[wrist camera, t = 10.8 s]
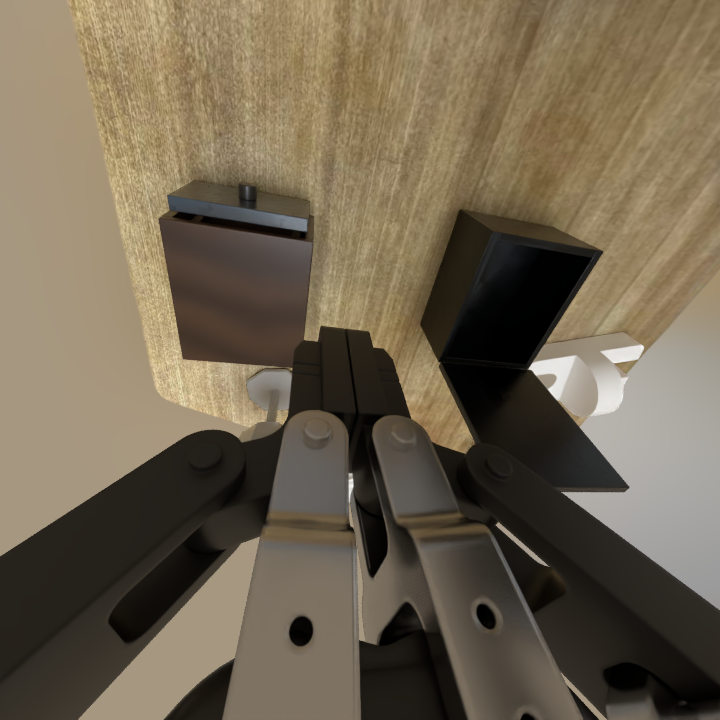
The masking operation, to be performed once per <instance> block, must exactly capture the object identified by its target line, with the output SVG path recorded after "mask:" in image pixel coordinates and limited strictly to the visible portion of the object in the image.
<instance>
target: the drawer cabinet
mask: <svg viewBox="0 0 720 720" xmlns="http://www.w3.org/2000/svg"><path fill="white" fill-rule="evenodd" d="M195 216H196V215H195V214H189V213H183V212H177V211H171V210H170V211H168V212H167V213H165V214H164V215H162V216H161V217H160V218H159V224H160V230H161V235H162V241H163V247H164V253H165V258H166V264H167V270H168V276H169V281H170V287H171V293H172V299H173V304H174V310H175V316H176V322H177V328H178V333H179V339H180V345H181V351H182V356H183V359H186V360H199V361H212V362H225V363H237V364H250V365H263V366H276V367H289V368H293V359H294V350H295V348H296V347H297V346H298V345H299V344H300V342H301V341H302V340H304V332H305V322H306V312H307V302H308V292H309V282H310V272H311V262H312V253H313V242H314V241H313V240H314V216H309V221H308V232H301V236H300V238H299V237H293V236H287V235H280V234H274V233H268V232H261V231H255V230H249V229H242V228H236V227H230V226H223V225H217V224H211V223H204V222H198V221H192V220H191V219H192V218H194V217H195Z"/></svg>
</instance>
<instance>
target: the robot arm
mask: <svg viewBox="0 0 720 720" xmlns="http://www.w3.org/2000/svg"><path fill="white" fill-rule="evenodd" d="M349 473H352V475H353V485H354V486H353V489H352V492H351V495H350V505H351V512H352V518H353V524H354V529H353V527H351V526H350V522H349ZM498 522H500V524H502V525H503V526H504V527H505V528H506V529H507V530H508V531H510V532H511V533H512V534H513V535H514V536H515V537H516V538H518V539H519V540H520V541H521V542H522V543H523V544H524V545H526V546H527V547H528V548H529V549H530V550H531V551H532V552H534V553H535V554H536V555H537V556H538V557H539V558H540V559H542V560H543V561H544V562H545V563H546V564H547V565H548V566H550V567H548V566H544V565H542V564H539V563H538V562H537V561H535V560H534V559H533V558H532V557H530V556H529V555H528V554H527V553H526V552H525V551H524V550H522V549H521V548H520V547H519V546H518V545H517V544H516V543H515V542H514V541H512V540H511V539H510V538H509V537H508V536H507V535H506V534H504V533H503V532H502V531H501V530H500V529H499V528H498V527H497V526H496V524H497V523H498ZM354 530H355V531H354ZM257 537H260V540H259V545H258V549H257V554H256V559H255V564H254V568H253V573H252V578H251V583H250V588H249V593H248V597H247V602H246V607H245V612H244V617H243V622H242V626H241V631H240V636H239V641H238V646H237V651H236V656H235V658H234V659H232V660H231V661H229V662H227V663H226V664H224V665H222V666H221V667H219V668H218V669H217V670H215V671H214V672H212V673H211V674H210V675H209V676H207V677H206V678H205V679H203V680H202V681H201V682H200V683H199V684H197V685H196V686H195V687H194V688H193V689H192V690H191V691H190V692H189V693H188V694H187V695H186V696H185V697H184V698H183V699H182V700H181V701H180V702H179V703H178V704H177V705H176V707H175V708H174V709H173V710H172V711H171V712H170V713H169V714H168V715H167V717H166V718H165V719H164V720H599V719H598V718H597V717H596V716H595V715H594V714H593V713H592V712H591V711H590V709H589V708H588V707H587V706H586V705H585V704H584V703H583V702H582V701H581V700H580V699H579V697H578V696H577V695H576V694H575V693H574V692H573V691H572V690H571V689H570V688H569V687H568V686H567V684H566V683H565V681H564V679H563V677H562V675H561V673H562V674H563V675H564V676H565V677H566V678H567V679H568V680H569V681H570V682H571V683H572V684H573V685H574V686H575V687H576V688H577V689H578V690H579V691H580V692H581V693H582V694H583V695H584V696H585V697H586V698H587V699H588V700H589V701H590V702H591V703H592V704H593V705H594V706H595V707H596V708H597V710H599V712H600V713H601V714H602V715H603V716H604V717H605V718H606V719H607V720H720V610H718V609H717V608H716V607H714V606H713V605H712V604H710V603H709V602H708V601H706V600H705V599H703V598H702V597H701V596H700V595H698V594H697V593H695V592H694V591H693V590H692V589H690V588H689V587H688V586H686V585H685V584H683V583H682V582H681V581H679V580H678V579H677V578H675V577H674V576H673V575H671V574H670V573H669V572H667V571H666V570H665V569H663V568H662V567H661V566H659V565H658V564H657V563H655V562H654V561H652V560H651V559H650V558H649V557H647V556H646V555H645V554H643V553H642V552H641V551H639V550H638V549H637V548H635V547H634V546H633V545H631V544H630V543H629V542H627V541H626V540H624V539H623V538H622V537H620V536H619V535H618V534H616V533H615V532H614V531H612V530H611V529H610V528H608V527H607V526H606V525H604V524H603V523H602V522H600V521H599V520H598V519H596V518H595V517H593V516H592V515H591V514H589V513H588V512H587V511H585V510H584V509H583V508H581V507H580V506H579V505H577V504H576V503H575V502H573V501H572V500H571V499H569V498H568V497H567V496H565V495H564V494H563V493H561V492H560V491H559V490H557V489H556V488H555V487H553V486H552V485H551V484H549V483H548V482H547V481H545V480H544V479H543V478H541V477H540V476H539V475H537V474H536V473H535V472H533V471H532V470H530V469H529V468H528V467H526V466H525V465H524V464H522V463H521V462H520V461H518V460H517V459H516V458H514V457H513V456H512V455H510V454H509V453H508V452H506V451H505V450H503V449H501V448H499V447H497V446H494V445H490V444H476V445H473V446H472V447H471V448H470V449H469V450H468V452H467V453H466V454H464V453H461V452H458V451H455V450H452V449H449V448H446V447H442V446H440V445H437V444H435V443H433V442H431V440H430V437H429V435H428V433H427V432H426V431H425V429H424V428H423V427H422V426H421V425H419V424H418V423H417V422H415V421H414V420H412V419H411V416H410V413H409V410H408V407H407V404H406V400H405V397H404V394H403V391H402V388H401V384H400V383H399V378H398V375H397V373H396V368H395V365H394V362H393V359H392V358H391V357H390V356H389V355H388V353H387V352H386V351H385V350H384V349H381V348H373V345H372V341H371V337H370V333H369V332H368V331H360V330H352V329H343V328H334V327H326V326H321V327H320V332H319V339H318V342H315V341H306V340H302V341H301V342H300V344H299V345H298V346H297V347H296V348H295V350H294V359H293V369H292V379H291V388H290V399H289V410H288V417H287V420H286V421H285V423H284V424H283V425H282V426H281V428H279V429H278V430H277V431H276V432H274V433H272V434H270V435H268V436H266V437H262V438H259V439H255V440H250V441H246V442H241V441H240V440H239V439H238V438H237V437H236V436H234V435H233V434H231V433H228V432H226V431H221V430H204V431H199V432H196V433H193V434H190V435H188V436H186V437H184V438H183V439H181V440H180V441H178V442H176V443H175V444H173V445H172V446H170V447H168V448H167V449H165V450H164V451H162V452H161V453H159V454H158V455H156V456H155V457H153V458H152V459H150V460H148V461H147V462H145V463H144V464H142V465H141V466H139V467H138V468H136V469H135V470H133V471H132V472H130V473H128V474H127V475H125V476H124V477H122V478H121V479H119V480H118V481H116V482H114V483H113V484H111V485H110V486H108V487H107V488H105V489H104V490H102V491H101V492H99V493H98V494H96V495H95V496H93V497H91V498H90V499H88V500H87V501H85V502H84V503H82V504H81V505H79V506H78V507H76V508H74V509H73V510H71V511H70V512H68V513H67V514H65V515H64V516H62V517H61V518H59V519H57V520H56V521H54V522H53V523H51V524H50V525H48V526H47V527H45V528H43V529H42V530H40V531H39V532H37V533H36V534H34V535H33V536H31V537H30V538H28V539H27V540H25V541H23V542H22V543H20V544H19V545H17V546H16V547H14V548H13V549H11V550H10V551H8V552H6V553H5V554H3V555H2V556H0V720H78V719H79V717H80V716H82V714H83V713H84V712H85V711H86V710H87V709H88V708H89V707H90V706H91V705H92V704H93V703H94V702H95V701H96V699H97V698H98V697H99V696H100V695H101V694H102V693H103V692H104V691H105V690H106V689H107V688H108V687H109V685H110V684H111V683H112V682H113V681H114V680H115V679H116V678H117V677H118V676H119V675H120V674H121V673H122V672H123V670H124V669H125V668H126V667H127V666H128V665H129V664H130V663H131V662H132V661H133V660H134V659H135V657H136V656H137V655H138V654H139V653H140V652H141V651H142V650H143V649H144V648H145V647H146V646H147V645H148V643H149V642H150V641H151V640H152V639H153V638H154V637H155V636H156V635H157V634H158V633H159V632H160V631H161V630H162V628H164V626H165V625H166V624H167V623H168V622H169V621H170V620H171V619H172V618H173V617H174V616H175V615H176V614H177V612H178V611H179V610H180V609H181V608H182V607H183V606H184V605H185V604H186V603H187V602H188V601H189V599H191V598H192V596H193V595H194V594H195V593H196V592H197V591H198V590H199V589H200V588H201V587H202V586H203V585H204V583H205V582H206V581H207V580H208V579H209V578H210V577H211V576H212V575H213V574H214V573H215V572H216V571H217V570H218V569H219V567H220V566H221V565H222V564H223V563H224V562H225V561H226V560H227V559H228V558H229V557H230V556H231V554H233V552H234V551H235V550H236V549H237V548H238V547H239V545H240V544H241V543H243V542H246V541H249V540H251V539H254V538H257ZM356 542H357V548H358V554H359V560H360V566H361V572H362V580H363V596H362V618H363V627H364V634H365V641H366V642H364V641H360V640H359V624H358V584H357V548H356Z"/></svg>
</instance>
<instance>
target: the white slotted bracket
mask: <svg viewBox="0 0 720 720" xmlns="http://www.w3.org/2000/svg"><path fill="white" fill-rule="evenodd" d="M643 350H644V346H643V345H641V344H640V343H638V342H637V341H636V340H634V339H633V338H631V337H630V336H629V335H627V334H626V333H624V332H619V333H613V334H607V335H600V336H594V337H588V338H582V339H575V340H569V341H563V342H556V343H550V344H544V345H543V347H542V349H541V350H540V352H539V353H538V355H537V356H536V358H535V360H534V361H533V363H532V364H531V366H530V367H529V369H528V370H532V371H533V373H534V374H535V375H536V376H537V377H538V379H539V380H540V381H541V382H542V383H543V384H544V386H545V387H546V388H547V389H548V390H549V392H550V393H551V394H552V395H553V396H554V398H555V399H556V400H560V401H561V402H562V404H563V405H564V406H565V407H566V408H567V409H568V410H569V411H570V412H571V413H572V414H574V415H576V416H579V417H589V416H595V415H601V414H607V413H612V412H613V411H615V410H616V409H617V408H618V407H619V406H620V404H621V402H622V399H623V386H624V385H625V383H626V381H627V379H628V377H629V376H628V375H626V374H625V373H624V372H623V371H622V370H621V369H619V368H618V367H617V366H616V365H615V364H614V363H619V362H625V361H631V360H638V359H639V357H640V355H641V353H642V351H643Z"/></svg>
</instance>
